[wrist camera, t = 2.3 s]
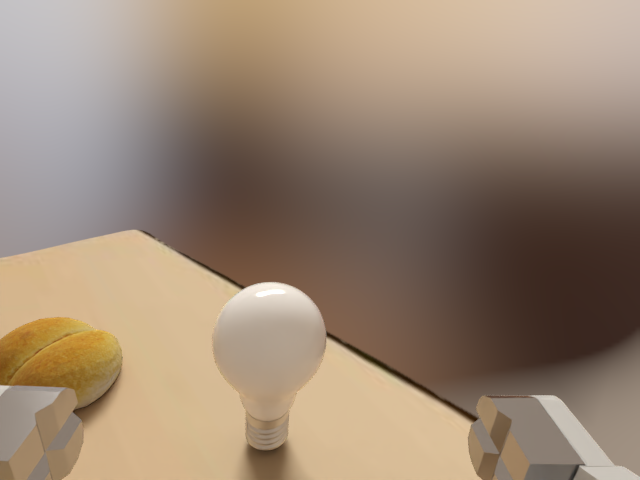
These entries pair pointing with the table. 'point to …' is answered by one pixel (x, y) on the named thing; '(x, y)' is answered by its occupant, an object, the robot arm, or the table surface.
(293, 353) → the lightbulb
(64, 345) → the bread roll
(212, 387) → the table surface
